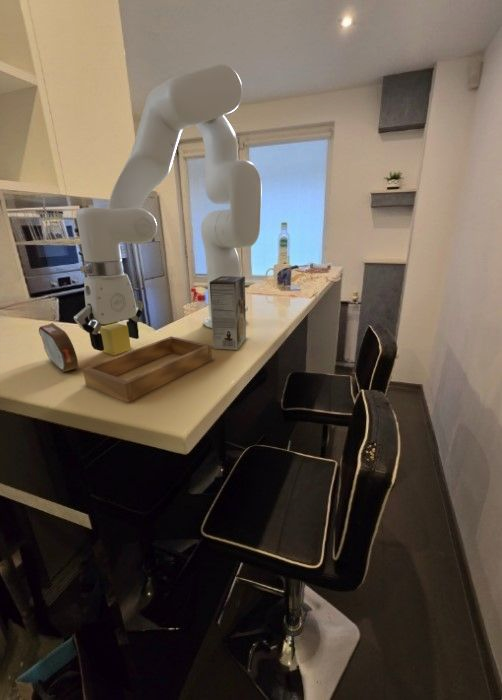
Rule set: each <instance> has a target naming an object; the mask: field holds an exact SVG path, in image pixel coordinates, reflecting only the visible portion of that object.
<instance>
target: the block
mask: <svg viewBox="0 0 502 700" xmlns="http://www.w3.org/2000/svg"><path fill="white" fill-rule="evenodd" d="M98 333H100V334H101V335H102V340H103V346H104V350H103V351H102V352H103V353H106V354H109V355H113V356H118V355H121V354H124V353H127V352H130V351H132V346H131V339H130V337H129V332H128V326H127V324H121V323H117V322H113V323H109V324H105V325H102V326H101V328H100V330H99V332H98Z"/></svg>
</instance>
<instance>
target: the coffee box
mask: <svg viewBox="0 0 502 700" xmlns="http://www.w3.org/2000/svg"><path fill="white" fill-rule="evenodd" d="M210 298H211V316H212V328H211V333H212V347H213V349H215V350H232V351H238V350H239V349H240V347H241V346H242V345H243V343H244V342H245V341H246V339H247V317H246V316H247V315H246V314H247V313H246V312H247V311H246V307H245V306H246V276H240V277H233V276H221V277H219V278H217V279H215V280H213V281H211V282H210Z"/></svg>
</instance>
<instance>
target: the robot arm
mask: <svg viewBox="0 0 502 700" xmlns="http://www.w3.org/2000/svg"><path fill="white" fill-rule="evenodd" d="M242 97H243V85H242V81H241V78H240V76H239V74H238V73H237V72H236V70H235V69H234V68H232V66H230V65H227V64H223V63H218V64H215V65H212V66H208V67H204V68H201V69H197V70H193V71H190V72H186V73H182V74H178V75H175V76H173V77H171V78H169V79H167V80H165V81H164V82H162V83H161V84H159V85H157V86H156V87H154V88H153V89H152V90H151V91H150V92H149V94H148V96H147V98H146V101H145V103H144V107H143V109H142V110H143V111H142V114H141V117H140V121H139V124H138V128H137V132H136V135H135V139H134V142H133V146H132V149H131V152H130V155H129V157H128V158H127V160H126V162H125V163H124V166H123V168H122V170H121V172H120V173H119V176H118V177H117V179H116V182H115V183H114V186H113V188H112V191H111V194H110V197H109V200H108V203H107V207H81V208H78V209H77V210H76V212H75V218H76V219H75V220H76V224H77V230H78V234H79V235H78V236H79V240H80V246H81V252H82V256H83V265H81V266H80V267H79V270H80V272H81V273H82V274H85V277H84V281H83V283H84V284H83V285H84V293H83V294H84V303H85V307H84V308H82V309H81V310H80V311H79V312H78V313H77V314H75V315H73V320H74V321H75V323H76V324H77V325H78V326H79V328H80V329H82V330H83V331H84V332H85V333H88V334H89V339H90V344H91V347H92V348H93V350H96V351H99V352H103V350H104V346H103V340H102V335H101V334H100V332H99V330H100V328H101V327H102V326H103V325H110V324H114V323H117V322H120V321H125V320H127V321H126V325H127V326H128V332H129V339H130V338H132V339H135V340H138V339H140V335H139V325H138V324H139V322H140V318H141V316H142V314H143V308H144V305H145V304H144V302H143V301H141V300H139V299H136V298H135V293H134V290H133V286H132V284H131V280H130V278H129V276H128V273H125V272H124V271H125V270H124V264H123V258H122V251H121V243H122V244H132V245H142V244H146V243H149V242H151V241H152V240H154V238H155V236H156V234H157V232H158V224H157V219H156V218H155V216H154V215H153V214H152V213H151V212H150V211H148V210H147V209H145V208H142V207H143V205H144V204H145V201H146V200H147V198H148V197H149V195H150V193H152V191H153V190H154V189H156V187H158V186H159V185H160V184H161V183H163V181H164V180H165V179H166V178H167V176H168V175H169V173H170V171H171V168H172V165H173V161H174V157H175V154H176V150H177V147H178V144H179V141H180V138H181V134H182V132H183V130H184V129H187V128H189V127H192V126H195V128H196V129H197V131H198V132H199V133H200V135H201V139H202V140H203V147H204V171H205V173H204V176H205V178H204V179H205V181H204V182H205V192H206V197H207V198H208V200H209V201H210V202H211V203H213V204H216V205H230V209H217V210H213V211H210V212H208V213H207V214H206V215H205V216H204V217H203V218H202V222H201V225H200V235H201V239H202V243H203V244H202V245H203V248H204V253H205V264H206V283H207V284H206V285H207V302H208V317H207V318H205V319H204V320H203V322H204V323H203V324H204V325H205V326H206V327H207V328H211V329H212V316H211V298H210V282H211V281H213V280H215V279H217V278H219V277H221V276H233V277H241V262H240V257H239V254H238V252H237V249H248V248H251V247H252V246H254V245H255V244H256V242H257V241H258V239H259V236H260V232H261V231H260V230H261V219H262V194H263V193H262V192H263V190H262V187H263V186H262V185H263V184H262V178H261V175H260V172H259V170H258V167H256V165H255V164H254V163H253V162H251V161H249V160H247V159H239V143H238V138H237V134H236V132H235V130H234V128H233V127H232V124H230V122H229V121H228V119H227V118H226V116H225V115H228V114H231V113H233V112H234V111H235V110H237V108H238V107H239V106H240V104H241V102H242V99H243V98H242ZM245 307H246V312H248V311H249V308H248V306H247V305H245ZM86 318H88V321H89V322H88V323H87V321H86Z"/></svg>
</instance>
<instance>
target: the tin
mask: <svg viewBox="0 0 502 700" xmlns="http://www.w3.org/2000/svg"><path fill="white" fill-rule="evenodd" d="M38 333H39V336H40V337H41V338H40V339H41V340H42V344H43V349H44V352H45V353H46V356H47V357H48V359H49V360H50V361H51V363H53V365H55V367H57V368H58V369H59V370H60V371H61V372H62V373H66V372H70V371H73V370H77V369H78V368H79V360H78V356H77V353H76V350H75V346H74V344H73V343H72V340H71V338H70V337H69V335H68V333H67V332H66V331H65V330H64V329H62V328H61V327H59V326H58V325H56V324H55V323H53V322H51V323H48V324H44V325H41V326H39V328H38Z"/></svg>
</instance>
